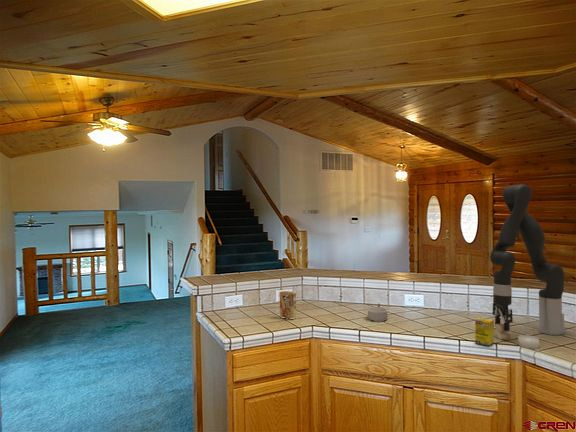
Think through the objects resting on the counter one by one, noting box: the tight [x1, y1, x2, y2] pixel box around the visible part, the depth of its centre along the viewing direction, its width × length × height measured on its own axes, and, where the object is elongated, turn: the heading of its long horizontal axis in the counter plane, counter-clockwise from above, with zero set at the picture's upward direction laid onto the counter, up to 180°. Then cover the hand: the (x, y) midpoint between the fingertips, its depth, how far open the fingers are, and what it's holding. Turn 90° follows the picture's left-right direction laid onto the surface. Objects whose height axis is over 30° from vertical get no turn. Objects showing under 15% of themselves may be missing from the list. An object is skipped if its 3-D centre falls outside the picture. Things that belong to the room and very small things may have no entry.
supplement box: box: [474, 317, 495, 348], centre depth 174 cm, size 6×6×11 cm
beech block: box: [495, 323, 512, 340], centre depth 181 cm, size 4×4×6 cm
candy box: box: [279, 290, 298, 318], centre depth 220 cm, size 9×4×15 cm, turn 67°
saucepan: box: [366, 303, 389, 322], centre depth 219 cm, size 12×20×6 cm, turn 163°
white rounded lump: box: [517, 334, 540, 350], centre depth 171 cm, size 8×8×4 cm
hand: (502, 328), depth 181 cm, fingers open, 8 cm apart
